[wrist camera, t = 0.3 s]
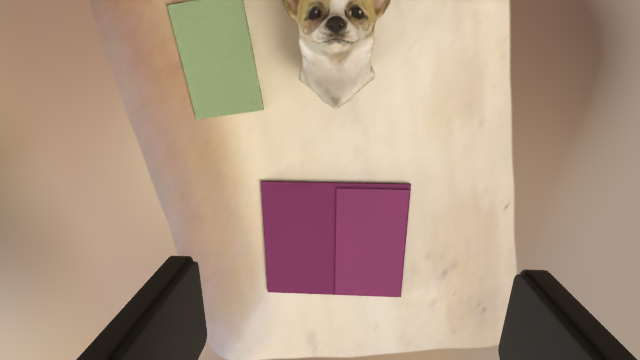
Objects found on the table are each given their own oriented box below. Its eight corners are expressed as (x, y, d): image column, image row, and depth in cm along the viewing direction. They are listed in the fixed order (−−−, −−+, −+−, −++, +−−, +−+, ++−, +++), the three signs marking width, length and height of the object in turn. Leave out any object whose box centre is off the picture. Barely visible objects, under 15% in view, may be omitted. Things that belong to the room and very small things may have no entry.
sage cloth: (168, 5, 35) (167, 5, 35) (241, -8, 34) (240, -9, 34) (197, 119, 39) (196, 119, 39) (263, 109, 38) (263, 110, 38)
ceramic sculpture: (274, 109, 29) (265, -92, 25) (288, 105, 38) (283, -48, 34) (397, 108, 29) (408, -98, 25) (384, 104, 37) (390, -51, 33)
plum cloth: (261, 180, 41) (260, 182, 41) (410, 183, 40) (411, 185, 40) (268, 290, 46) (267, 293, 46) (400, 295, 45) (400, 298, 45)
